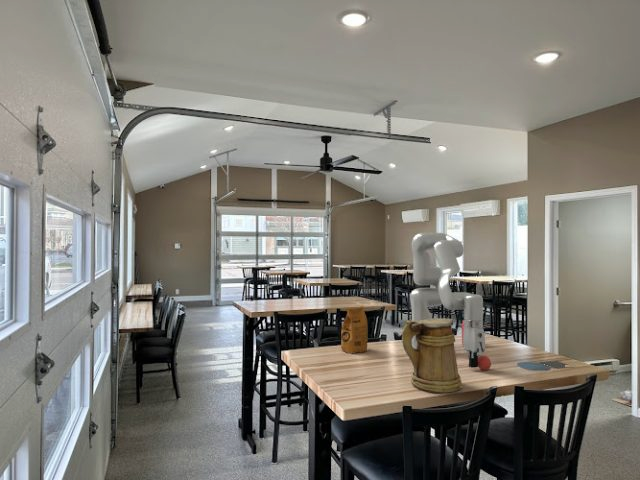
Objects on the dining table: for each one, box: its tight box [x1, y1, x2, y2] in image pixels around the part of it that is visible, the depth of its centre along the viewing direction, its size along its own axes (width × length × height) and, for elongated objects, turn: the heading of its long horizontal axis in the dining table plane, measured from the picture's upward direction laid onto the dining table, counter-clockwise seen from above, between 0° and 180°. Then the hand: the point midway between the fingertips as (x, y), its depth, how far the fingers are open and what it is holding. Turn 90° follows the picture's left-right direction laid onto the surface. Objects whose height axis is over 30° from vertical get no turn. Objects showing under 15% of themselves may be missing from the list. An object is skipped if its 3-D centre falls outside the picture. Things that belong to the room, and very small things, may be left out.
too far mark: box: [539, 360, 569, 369], centre depth 188 cm, size 10×10×1 cm
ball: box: [477, 355, 492, 371], centre depth 180 cm, size 6×6×6 cm
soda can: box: [461, 319, 464, 345], centre depth 225 cm, size 7×7×13 cm
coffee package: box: [340, 305, 369, 355], centre depth 211 cm, size 10×12×22 cm
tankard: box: [401, 317, 463, 394], centre depth 158 cm, size 18×24×25 cm
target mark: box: [516, 361, 551, 371], centre depth 186 cm, size 13×13×1 cm
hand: (473, 366), depth 179 cm, fingers closed
